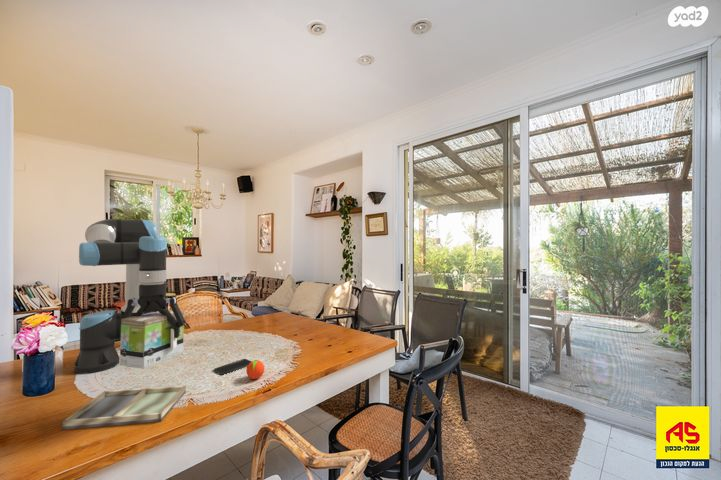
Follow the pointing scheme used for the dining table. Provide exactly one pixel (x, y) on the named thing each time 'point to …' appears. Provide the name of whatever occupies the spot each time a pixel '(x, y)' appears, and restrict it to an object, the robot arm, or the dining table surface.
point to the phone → (232, 366)
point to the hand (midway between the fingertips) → (152, 348)
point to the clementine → (255, 369)
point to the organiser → (126, 407)
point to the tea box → (147, 340)
